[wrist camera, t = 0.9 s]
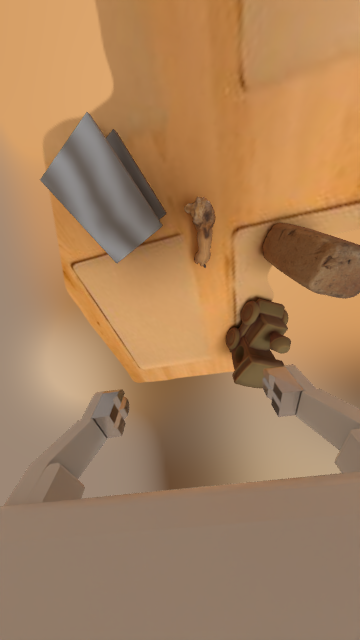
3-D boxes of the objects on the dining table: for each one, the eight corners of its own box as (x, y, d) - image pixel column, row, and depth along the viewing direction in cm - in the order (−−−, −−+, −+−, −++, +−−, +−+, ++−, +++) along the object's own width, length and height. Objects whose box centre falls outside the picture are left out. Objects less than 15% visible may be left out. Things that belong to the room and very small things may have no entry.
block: (254, 253, 39) (302, 293, 23) (272, 217, 35) (346, 238, 19) (293, 264, 41) (363, 308, 25) (315, 231, 36) (418, 260, 20)
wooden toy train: (249, 346, 59) (267, 390, 46) (220, 340, 58) (231, 384, 45) (284, 301, 47) (323, 343, 34) (249, 292, 46) (276, 332, 33)
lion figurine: (183, 199, 33) (182, 201, 26) (209, 192, 32) (216, 191, 25) (195, 268, 42) (197, 284, 35) (216, 264, 41) (223, 279, 34)
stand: (111, 124, 27) (91, 104, 21) (169, 217, 35) (166, 222, 29) (63, 186, 32) (36, 184, 26) (123, 255, 40) (113, 266, 34)
